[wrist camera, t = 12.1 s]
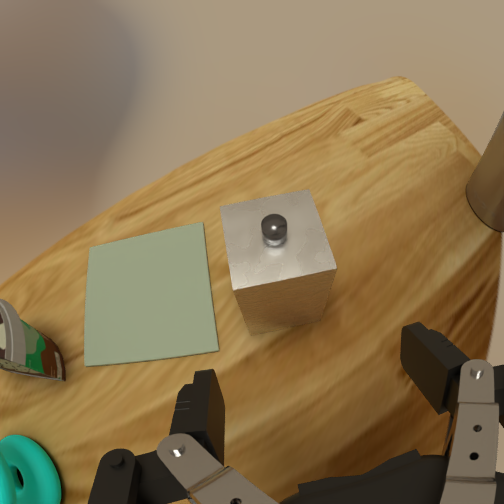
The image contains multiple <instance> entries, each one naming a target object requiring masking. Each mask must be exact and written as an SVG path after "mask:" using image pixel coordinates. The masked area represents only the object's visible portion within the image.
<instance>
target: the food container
mask: <svg viewBox="0 0 504 504" xmlns="http://www.w3.org/2000/svg"><path fill="white" fill-rule="evenodd" d="M0 369H3V370H6V371H9V372H12V373H17V374H23V375H28V376H34V377H40V378H46V379H52V380H59V381H65V366H64V361H63V357H62V355H61V353H60V350H59V348H58V346H57V345H56V344H55V343H54V342H53V341H52V340H51V339H50V338H48V337H47V336H45V335H43V334H42V333H40V332H39V331H37V330H36V329H34V328H33V327H31V326H30V325H28V324H27V323H26V322H24V321H23V320H21V319H20V318H19V316H18V314H17V312H16V310H15V309H14V308H13V306H12V305H11V304H9V303H8V302H7V301H5V300H2V299H0Z"/></svg>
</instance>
